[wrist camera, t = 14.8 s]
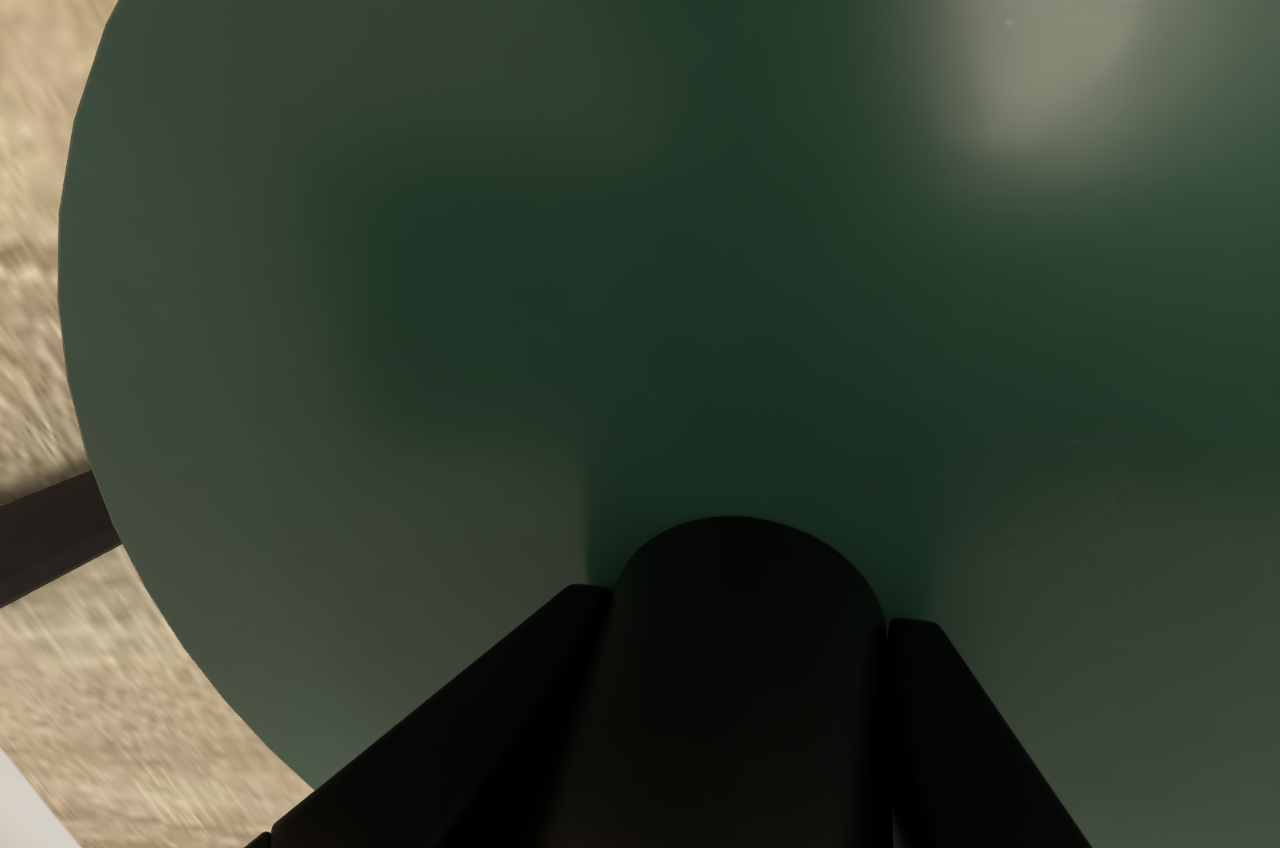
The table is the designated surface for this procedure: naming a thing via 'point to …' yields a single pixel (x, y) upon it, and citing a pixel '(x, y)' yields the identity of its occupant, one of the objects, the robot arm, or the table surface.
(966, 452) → the lid
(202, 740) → the table surface
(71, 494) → the microphone
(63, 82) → the table surface
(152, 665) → the table surface
